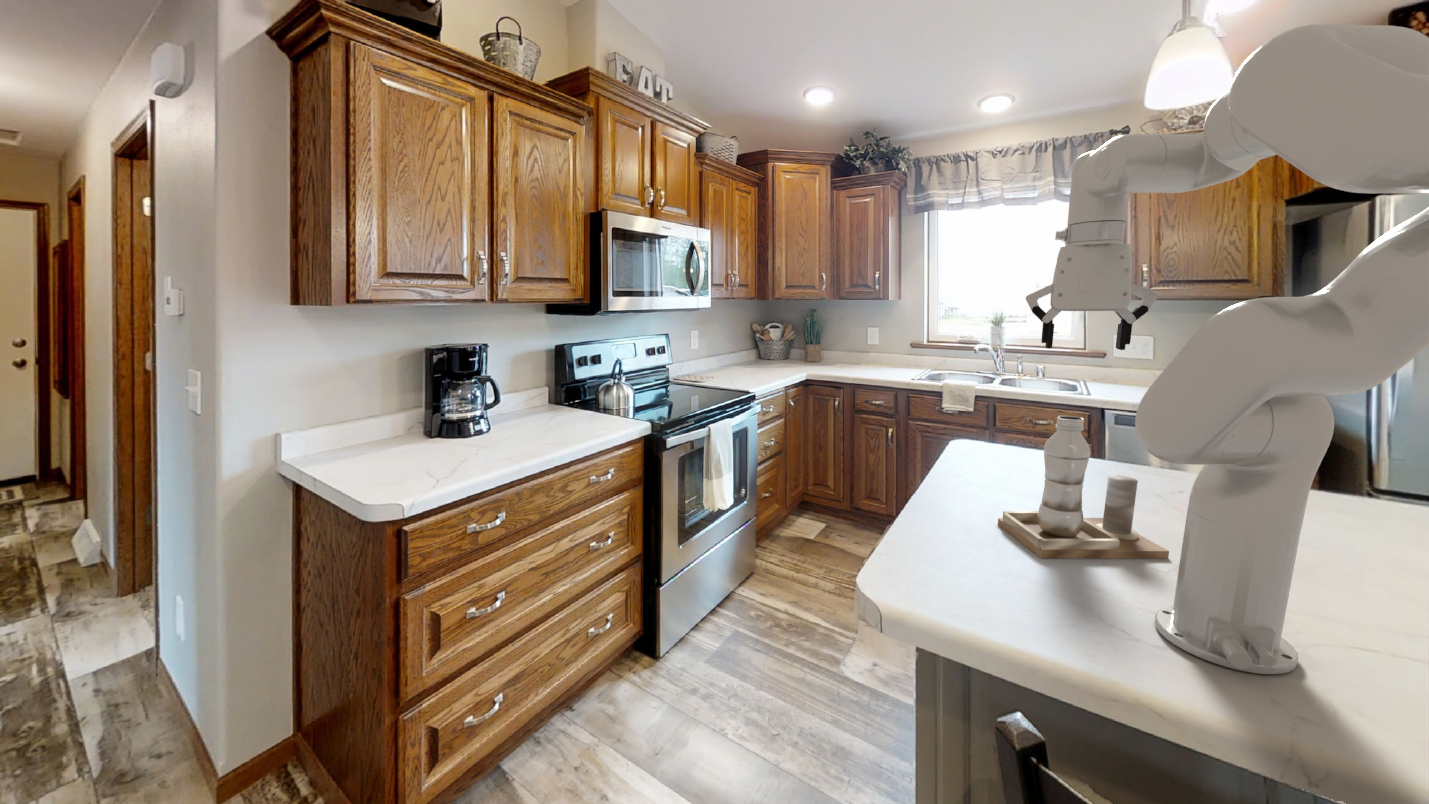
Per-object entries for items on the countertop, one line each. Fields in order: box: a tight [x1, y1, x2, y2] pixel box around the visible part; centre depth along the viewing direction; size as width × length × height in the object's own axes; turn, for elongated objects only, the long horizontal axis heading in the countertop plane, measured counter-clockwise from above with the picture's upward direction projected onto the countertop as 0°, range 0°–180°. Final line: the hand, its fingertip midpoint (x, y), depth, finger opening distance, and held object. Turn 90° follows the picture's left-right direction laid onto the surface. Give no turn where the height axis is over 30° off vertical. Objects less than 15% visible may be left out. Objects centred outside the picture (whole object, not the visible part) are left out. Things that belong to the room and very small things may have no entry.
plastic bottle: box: [1037, 415, 1091, 537], centre depth 94 cm, size 6×7×20 cm
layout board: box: [997, 474, 1170, 560], centre depth 95 cm, size 20×14×11 cm
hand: (1083, 348), depth 90 cm, fingers open, 9 cm apart
